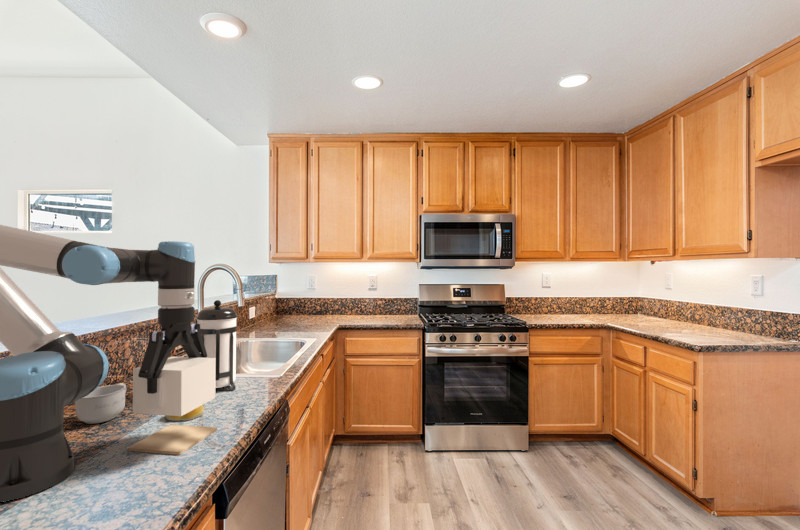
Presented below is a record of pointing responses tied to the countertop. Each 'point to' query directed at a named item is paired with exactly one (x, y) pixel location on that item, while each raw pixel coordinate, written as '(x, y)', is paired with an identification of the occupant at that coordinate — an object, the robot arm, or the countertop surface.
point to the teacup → (101, 404)
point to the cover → (178, 386)
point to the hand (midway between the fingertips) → (176, 397)
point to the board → (172, 439)
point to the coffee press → (220, 341)
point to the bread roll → (188, 415)
